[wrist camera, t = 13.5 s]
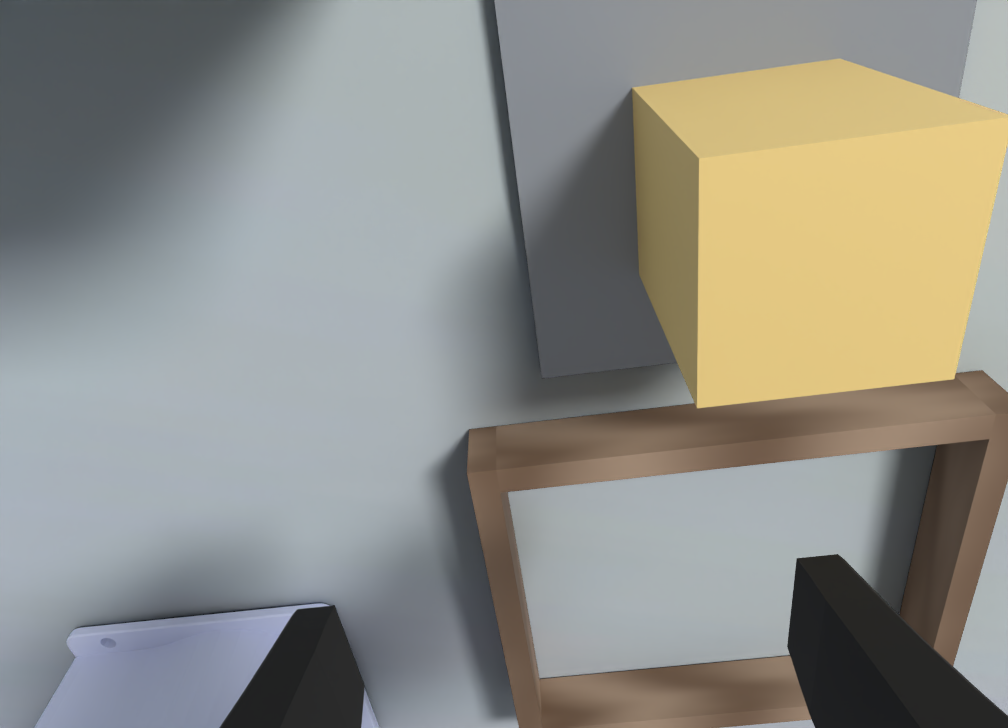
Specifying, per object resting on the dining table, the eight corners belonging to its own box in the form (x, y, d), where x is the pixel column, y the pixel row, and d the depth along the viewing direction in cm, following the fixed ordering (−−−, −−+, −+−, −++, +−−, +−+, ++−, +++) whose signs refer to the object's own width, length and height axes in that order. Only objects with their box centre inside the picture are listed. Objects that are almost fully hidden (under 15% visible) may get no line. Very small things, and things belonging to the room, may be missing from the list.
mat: (540, 371, 20) (541, 378, 19) (490, -36, 15) (489, -36, 14) (907, 327, 19) (915, 334, 19) (985, -113, 14) (998, -115, 14)
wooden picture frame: (521, 694, 27) (522, 744, 25) (469, 429, 21) (466, 473, 19) (911, 658, 26) (940, 707, 25) (982, 370, 20) (1028, 410, 18)
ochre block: (639, 274, 18) (696, 408, 13) (631, 87, 16) (698, 158, 10) (820, 252, 18) (954, 379, 12) (840, 58, 15) (1014, 116, 10)
